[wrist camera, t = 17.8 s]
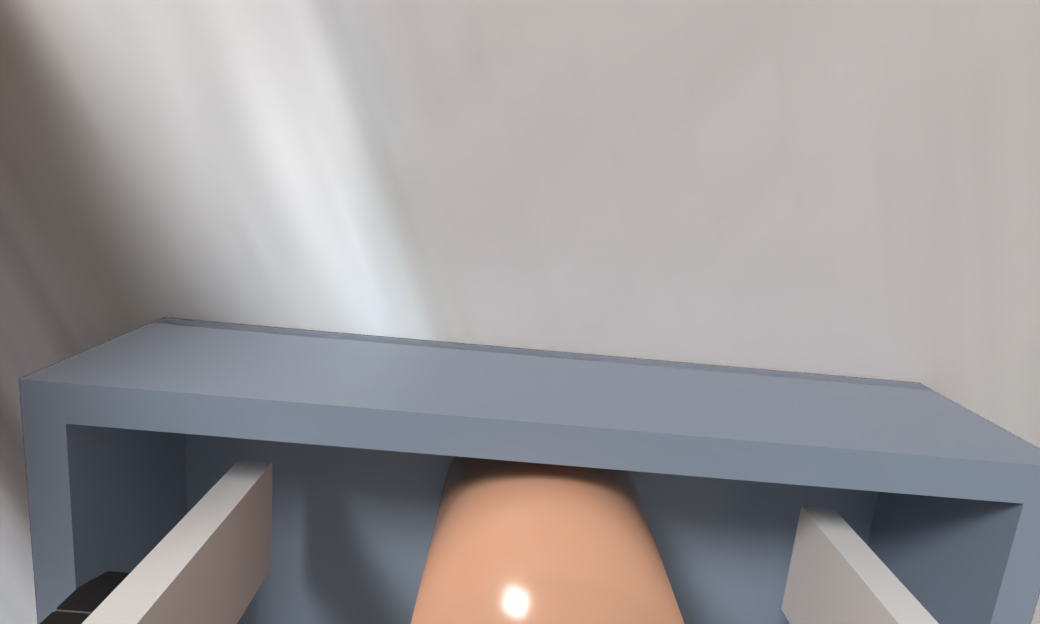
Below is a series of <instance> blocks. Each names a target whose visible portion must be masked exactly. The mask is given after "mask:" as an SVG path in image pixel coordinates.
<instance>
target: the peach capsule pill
mask: <svg viewBox="0 0 1040 624" xmlns="http://www.w3.org/2000/svg"><path fill="white" fill-rule="evenodd" d="M411 624H684V621H683V618H682V615H681V612H680V610H679V607H678V604H677V601H676V598H675V596H674V593H673V590H672V587H671V584H670V582H669V579H668V576H667V573H666V570H665V568H664V565H663V562H662V559H661V557H660V554H659V551H658V548H657V545H656V543H655V540H654V537H653V534H652V531H651V529H650V526H649V523H648V520H647V517H646V515H645V512H644V509H643V506H642V503H641V501H640V498H639V495H638V492H637V489H636V487H635V484H634V481H633V478H632V475H631V473H630V471H626V470H614V469H602V468H590V467H578V466H566V465H554V464H542V463H530V462H518V461H506V460H494V459H482V458H470V457H458V456H455V457H454V458H453V460H452V463H451V465H450V467H449V469H448V472H447V476H446V479H445V483H444V487H443V491H442V496H441V500H440V504H439V508H438V512H437V516H436V520H435V525H434V529H433V533H432V537H431V541H430V545H429V550H428V554H427V558H426V562H425V566H424V570H423V574H422V579H421V583H420V587H419V591H418V595H417V599H416V604H415V608H414V612H413V616H412V620H411Z"/></svg>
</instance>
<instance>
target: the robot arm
mask: <svg viewBox="0 0 1040 624" xmlns="http://www.w3.org/2000/svg"><path fill="white" fill-rule="evenodd" d="M272 470H273V462H266V461H254V460H242V459H239V460H238V461H237V462H236V463H235V464H234V465H233V466H232V467H231V469H230V470H229V471H228V472H227V473H226V474H225V475H224V476H223V477H222V478H221V479H220V480H219V481H218V482H217V483H216V484H215V485H214V486H213V487H212V488H211V489H210V490H209V491H208V492H207V494H206V495H205V496H204V497H203V498H202V499H201V500H200V501H199V502H198V503H197V504H196V505H195V506H194V507H193V508H192V509H191V510H190V511H189V512H188V513H187V514H186V515H185V516H184V517H183V519H182V520H181V521H180V522H179V523H178V524H177V525H176V526H175V527H174V528H173V529H172V530H171V531H170V532H169V533H168V534H167V535H166V536H165V537H164V538H163V539H162V540H161V541H160V542H159V544H158V545H157V546H156V547H155V548H154V549H153V550H152V551H151V552H150V553H149V554H148V555H147V556H146V557H145V558H144V559H143V560H142V561H141V562H140V563H139V564H138V565H137V566H136V567H135V569H134V570H133V571H132V572H131V573H126V572H114V571H107V572H105V573H103V574H101V575H99V576H98V577H96V578H94V579H92V580H90V581H89V582H87V583H85V584H83V585H81V586H80V587H78V588H77V589H76V590H75V591H74V592H73V593H72V594H71V595H70V596H68V597H67V598H66V599H65V600H64V601H63V602H62V603H61V604H60V605H59V606H58V607H57V609H56V611H55V612H52V613H51V614H50V615H48V616H47V617H46V618H45V619H44V620H43V621H42V622H41V623H40V624H237V623H238V621H239V620H240V618H241V616H242V615H243V613H244V612H245V610H246V608H247V607H248V605H249V604H250V602H251V600H252V599H253V597H254V596H255V594H256V592H257V591H258V589H259V587H260V586H261V584H262V583H263V581H264V579H265V578H266V576H267V575H268V573H269V571H270V570H271V568H272ZM781 609H782V611H783V613H784V614H785V616H786V618H787V620H788V621H789V623H790V624H939V623H938V622H937V621H936V620H935V619H934V618H933V617H932V616H931V615H930V613H929V612H928V611H927V610H926V609H925V608H924V607H923V606H922V605H921V604H920V602H919V601H918V600H917V599H916V598H915V597H914V596H913V595H912V594H911V593H910V592H909V590H908V589H907V588H906V587H905V586H904V585H903V584H902V583H901V582H900V581H899V579H898V578H897V577H896V576H895V575H894V574H893V573H892V572H891V571H890V570H889V569H888V567H887V566H886V565H885V564H884V563H883V562H882V561H881V560H880V559H879V558H878V556H877V555H876V554H875V553H874V552H873V551H872V550H871V549H870V548H869V547H868V546H867V544H866V543H865V542H864V541H863V540H862V539H861V538H860V537H859V536H858V535H857V533H856V532H855V531H854V530H853V529H852V528H851V527H850V526H849V525H848V524H847V523H846V521H845V520H844V519H843V518H842V517H841V516H840V515H839V514H838V513H837V512H836V510H835V509H833V508H821V507H809V506H801V511H800V516H799V521H798V526H797V531H796V536H795V541H794V546H793V552H792V557H791V562H790V567H789V572H788V577H787V582H786V587H785V592H784V597H783V602H782V607H781Z"/></svg>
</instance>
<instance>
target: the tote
mask: <svg viewBox="0 0 1040 624" xmlns="http://www.w3.org/2000/svg"><path fill="white" fill-rule="evenodd" d="M19 387H20V400H21V413H22V426H23V439H24V452H25V466H26V479H27V492H28V505H29V518H30V531H31V544H32V557H33V570H34V583H35V596H36V609H37V622H38V624H40V623H41V622H42V621H43V620H44V619H45V618H46V617H47V616H48V615H50V614H51V613H52V612H55V611H56V609H57V607H58V606H59V605H60V604H61V603H62V602H63V601H64V600H65V599H66V598H67V597H68V596H70V595H71V594H72V593H73V592H74V591H75V590H76V589H77V588H78V587H80V586H81V585H83V584H85V583H87V582H89V581H90V580H92V579H94V578H96V577H98V576H99V575H101V574H103V573H105V572H107V571H114V572H126V573H131V572H132V571H133V570H134V569H135V567H136V566H137V565H138V564H139V563H140V562H141V561H142V560H143V559H144V558H145V557H146V556H147V555H148V554H149V553H150V552H151V551H152V550H153V549H154V548H155V547H156V546H157V545H158V544H159V542H160V541H161V540H162V539H163V538H164V537H165V536H166V535H167V534H168V533H169V532H170V531H171V530H172V529H173V528H174V527H175V526H176V525H177V524H178V523H179V522H180V521H181V520H182V519H183V517H184V516H185V515H186V514H187V513H188V512H189V511H190V510H191V509H192V508H193V507H194V506H195V505H196V504H197V503H198V502H199V501H200V500H201V499H202V498H203V497H204V496H205V495H206V494H207V492H208V491H209V490H210V489H211V488H212V487H213V486H214V485H215V484H216V483H217V482H218V481H219V480H220V479H221V478H222V477H223V476H224V475H225V474H226V473H227V472H228V471H229V470H230V469H231V467H232V466H233V465H234V464H235V463H236V462H237V461H238V460H239V459H242V460H254V461H266V462H273V470H272V568H271V570H270V571H269V573H268V575H267V576H266V578H265V579H264V581H263V583H262V584H261V586H260V587H259V589H258V591H257V592H256V594H255V596H254V597H253V599H252V600H251V602H250V604H249V605H248V607H247V608H246V610H245V612H244V613H243V615H242V616H241V618H240V620H239V621H238V623H237V624H411V620H412V616H413V612H414V608H415V604H416V599H417V595H418V591H419V587H420V583H421V579H422V574H423V570H424V566H425V562H426V558H427V554H428V550H429V545H430V541H431V537H432V533H433V529H434V525H435V520H436V516H437V512H438V508H439V504H440V500H441V496H442V491H443V487H444V483H445V479H446V476H447V472H448V469H449V467H450V465H451V463H452V460H453V458H454V457H455V456H458V457H470V458H482V459H494V460H506V461H518V462H530V463H542V464H554V465H566V466H578V467H590V468H602V469H614V470H626V471H630V473H631V475H632V478H633V481H634V484H635V487H636V489H637V492H638V495H639V498H640V501H641V503H642V506H643V509H644V512H645V515H646V517H647V520H648V523H649V526H650V529H651V531H652V534H653V537H654V540H655V543H656V545H657V548H658V551H659V554H660V557H661V559H662V562H663V565H664V568H665V570H666V573H667V576H668V579H669V582H670V584H671V587H672V590H673V593H674V596H675V598H676V601H677V604H678V607H679V610H680V612H681V615H682V618H683V621H684V624H790V623H789V621H788V620H787V618H786V616H785V614H784V613H783V611H782V609H781V607H782V602H783V597H784V592H785V587H786V582H787V577H788V572H789V567H790V562H791V557H792V552H793V546H794V541H795V536H796V531H797V526H798V521H799V516H800V511H801V506H809V507H821V508H833V509H835V510H836V512H837V513H838V514H839V515H840V516H841V517H842V518H843V519H844V520H845V521H846V523H847V524H848V525H849V526H850V527H851V528H852V529H853V530H854V531H855V532H856V533H857V535H858V536H859V537H860V538H861V539H862V540H863V541H864V542H865V543H866V544H867V546H868V547H869V548H870V549H871V550H872V551H873V552H874V553H875V554H876V555H877V556H878V558H879V559H880V560H881V561H882V562H883V563H884V564H885V565H886V566H887V567H888V569H889V570H890V571H891V572H892V573H893V574H894V575H895V576H896V577H897V578H898V579H899V581H900V582H901V583H902V584H903V585H904V586H905V587H906V588H907V589H908V590H909V592H910V593H911V594H912V595H913V596H914V597H915V598H916V599H917V600H918V601H919V602H920V604H921V605H922V606H923V607H924V608H925V609H926V610H927V611H928V612H929V613H930V615H931V616H932V617H933V618H934V619H935V620H936V621H937V622H938V623H939V624H1031V622H1032V619H1033V615H1034V612H1035V608H1036V605H1037V601H1038V598H1039V595H1040V448H1038V447H1036V446H1034V445H1033V444H1031V443H1029V442H1027V441H1025V440H1023V439H1022V438H1020V437H1018V436H1016V435H1014V434H1012V433H1011V432H1009V431H1007V430H1005V429H1003V428H1001V427H1000V426H998V425H996V424H994V423H992V422H990V421H989V420H987V419H985V418H983V417H981V416H979V415H978V414H976V413H974V412H972V411H970V410H968V409H967V408H965V407H963V406H961V405H959V404H957V403H956V402H954V401H952V400H950V399H948V398H946V397H945V396H943V395H941V394H939V393H937V392H935V391H933V390H932V389H930V388H928V387H926V386H924V385H922V384H921V383H915V382H903V381H892V380H880V379H869V378H857V377H846V376H834V375H822V374H811V373H799V372H788V371H776V370H765V369H753V368H741V367H730V366H718V365H707V364H695V363H684V362H672V361H661V360H649V359H637V358H626V357H614V356H603V355H591V354H580V353H568V352H556V351H545V350H533V349H522V348H510V347H499V346H487V345H476V344H464V343H452V342H441V341H429V340H418V339H406V338H395V337H383V336H371V335H360V334H348V333H337V332H325V331H314V330H302V329H291V328H279V327H267V326H256V325H244V324H233V323H221V322H210V321H198V320H186V319H175V318H161V319H159V320H156V321H154V322H152V323H149V324H147V325H145V326H142V327H140V328H138V329H135V330H133V331H131V332H128V333H126V334H123V335H121V336H119V337H116V338H114V339H112V340H109V341H107V342H105V343H102V344H100V345H98V346H95V347H93V348H90V349H88V350H86V351H83V352H81V353H79V354H76V355H74V356H72V357H69V358H67V359H65V360H62V361H60V362H57V363H55V364H53V365H50V366H48V367H46V368H43V369H41V370H39V371H36V372H34V373H32V374H29V375H27V376H24V377H22V378H20V379H19Z"/></svg>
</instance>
